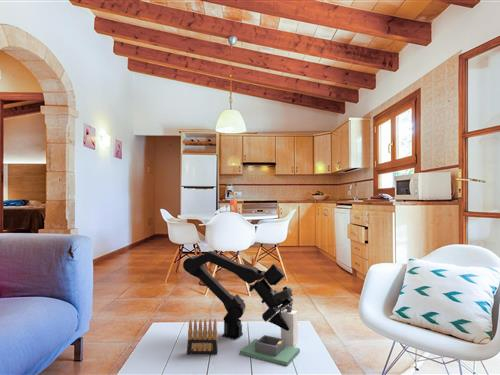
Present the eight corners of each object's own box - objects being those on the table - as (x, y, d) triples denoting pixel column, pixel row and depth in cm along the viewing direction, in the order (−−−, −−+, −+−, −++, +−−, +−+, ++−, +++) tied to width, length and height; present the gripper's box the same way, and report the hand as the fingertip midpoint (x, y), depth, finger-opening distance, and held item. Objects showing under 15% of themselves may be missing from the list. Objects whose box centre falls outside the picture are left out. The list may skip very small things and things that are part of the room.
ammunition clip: (217, 352, 118) (217, 318, 119) (217, 354, 116) (217, 320, 117) (187, 352, 118) (188, 318, 119) (186, 354, 116) (187, 319, 117)
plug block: (281, 344, 125) (281, 306, 126) (285, 340, 129) (285, 303, 130) (293, 347, 123) (293, 308, 124) (297, 342, 127) (297, 305, 127)
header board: (239, 354, 117) (240, 341, 117) (255, 341, 127) (255, 330, 127) (287, 365, 108) (287, 352, 108) (299, 351, 119) (299, 339, 119)
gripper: (269, 285, 121) (298, 321, 115) (288, 276, 137) (314, 307, 131) (250, 304, 124) (277, 339, 118) (271, 293, 141) (295, 323, 135)
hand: (292, 326), depth 126 cm, fingers open, 8 cm apart
